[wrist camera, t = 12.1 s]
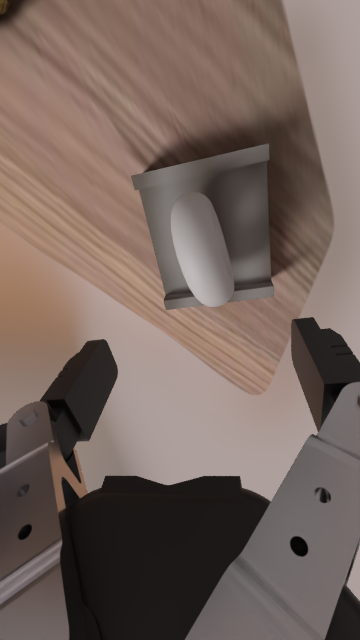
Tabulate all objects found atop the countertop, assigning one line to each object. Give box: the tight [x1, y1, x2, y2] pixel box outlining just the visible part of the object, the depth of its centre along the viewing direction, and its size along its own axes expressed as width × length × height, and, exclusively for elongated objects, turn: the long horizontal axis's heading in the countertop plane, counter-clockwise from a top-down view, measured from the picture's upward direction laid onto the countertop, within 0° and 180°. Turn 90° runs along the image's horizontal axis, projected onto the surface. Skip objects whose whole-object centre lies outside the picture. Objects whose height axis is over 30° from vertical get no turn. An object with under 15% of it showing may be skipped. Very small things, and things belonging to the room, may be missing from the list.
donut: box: [171, 191, 234, 307], centre depth 24 cm, size 10×3×10 cm, turn 21°
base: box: [131, 143, 274, 310], centre depth 28 cm, size 12×14×4 cm
